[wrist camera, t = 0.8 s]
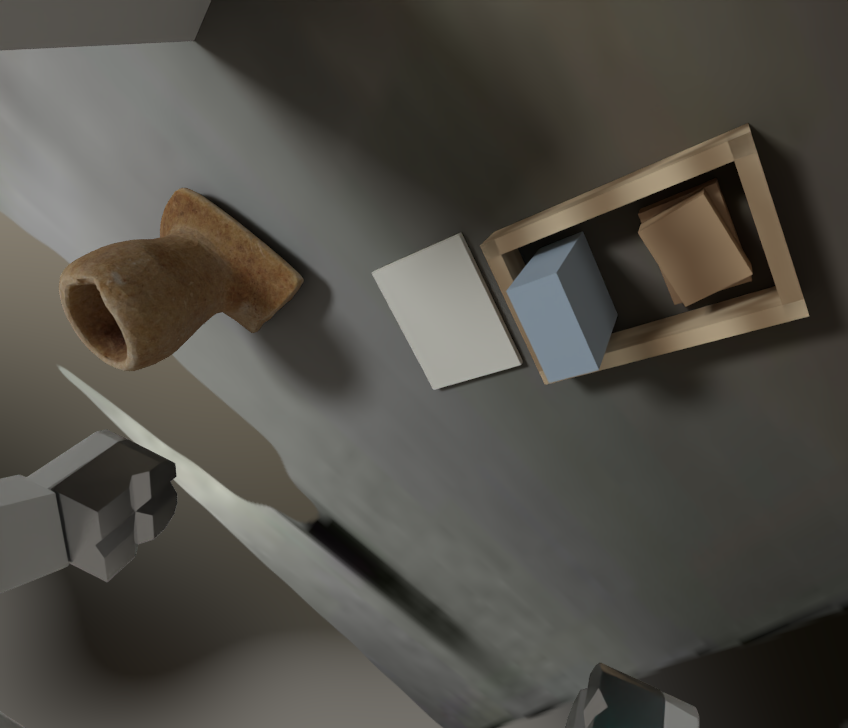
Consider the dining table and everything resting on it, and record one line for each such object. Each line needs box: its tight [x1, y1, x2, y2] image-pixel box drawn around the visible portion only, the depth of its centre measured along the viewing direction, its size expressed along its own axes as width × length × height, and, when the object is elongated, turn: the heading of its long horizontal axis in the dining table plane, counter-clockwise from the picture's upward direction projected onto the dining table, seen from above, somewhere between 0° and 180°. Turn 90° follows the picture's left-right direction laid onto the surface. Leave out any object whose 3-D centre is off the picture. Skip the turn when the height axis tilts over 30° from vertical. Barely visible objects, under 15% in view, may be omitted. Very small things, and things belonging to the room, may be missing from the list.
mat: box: [372, 232, 523, 390], centre depth 52 cm, size 9×12×1 cm
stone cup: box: [59, 188, 304, 371], centre depth 53 cm, size 15×12×15 cm
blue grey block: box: [506, 231, 618, 383], centre depth 43 cm, size 4×7×9 cm, turn 29°
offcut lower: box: [638, 178, 752, 305], centre depth 41 cm, size 5×7×2 cm
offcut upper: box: [638, 187, 753, 307], centre depth 40 cm, size 4×6×2 cm
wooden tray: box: [480, 123, 809, 385], centre depth 42 cm, size 18×12×4 cm, turn 119°
